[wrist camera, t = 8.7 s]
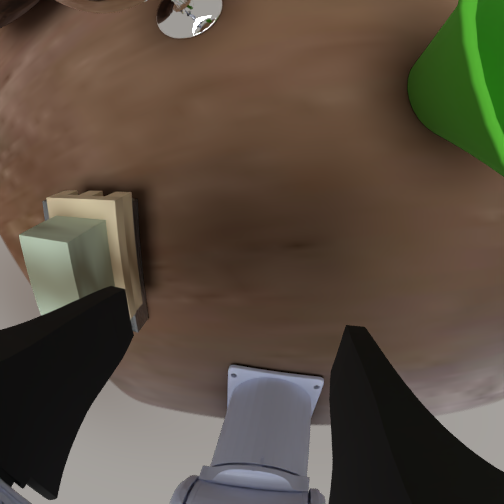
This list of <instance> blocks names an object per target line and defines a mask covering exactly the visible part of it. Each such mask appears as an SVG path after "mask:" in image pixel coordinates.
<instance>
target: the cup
mask: <svg viewBox="0 0 504 504" xmlns="http://www.w3.org/2000/svg"><path fill="white" fill-rule="evenodd" d="M407 90H408V95H409V100H410V103H411V106H412V108H413V110H414V112H415V114H416V115H417V117H418V119H419V120H420V121H421V122H422V123H423V124H424V125H425V127H427V128H428V129H429V130H431V131H432V132H433V133H435V134H437V135H439V136H440V137H442V138H444V139H446V140H448V141H449V142H451V143H453V144H454V145H456V146H458V147H460V148H461V149H463V150H464V151H466V152H468V153H469V154H471V155H473V156H474V157H476V158H477V159H479V160H480V161H482V162H483V163H485V164H486V165H488V166H489V167H491V168H492V169H494V170H495V171H496V172H498V173H499V174H501V175H502V176H503V177H504V0H459V1H458V6H457V7H456V8H455V10H454V11H453V13H452V14H451V15H450V17H449V18H448V19H447V21H446V22H445V24H444V25H443V26H442V28H441V29H440V30H439V32H438V33H437V34H436V36H435V37H434V38H433V40H432V41H431V43H430V44H429V45H428V47H427V48H426V49H425V51H424V52H423V53H422V55H421V56H420V57H419V59H418V60H417V61H416V63H415V64H414V66H413V67H412V69H411V70H410V74H409V77H408V87H407Z"/></svg>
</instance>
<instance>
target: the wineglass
mask: <svg viewBox="0 0 504 504" xmlns="http://www.w3.org/2000/svg"><path fill="white" fill-rule="evenodd" d="M54 1H56V2H58V3H60V4H62V5H65V6H68V7H71V8H73V9H76V10H79V11H84V12H91V13H115V12H120V11H123V10H127V9H130V8H132V7H135V6H137V5H140V4H142V3H144V2H145V1H147V0H54ZM222 7H223V0H162V2H161V3H160V5H159V7H158V10H157V14H156V21H157V25H158V27H159V29H160V30H161V31H162V32H163V33H164V34H165V35H167V36H169V37H171V38H176V39H188V38H192V37H195V36H198V35H200V34H202V33H204V32H205V31H207V30H208V29H209V28H210V27H212V26H213V25H214V24H215V22H216V21H217V20H218V18H219V16H220V14H221V12H222Z"/></svg>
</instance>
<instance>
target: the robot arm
mask: <svg viewBox="0 0 504 504" xmlns="http://www.w3.org/2000/svg"><path fill="white" fill-rule="evenodd" d="M133 336H134V334H133V330H132V324H131V319H130V314H129V308H128V303H127V297H126V291H125V289H123V288H118V287H114V286H109V287H106V288H103V289H101V290H98V291H96V292H93V293H91V294H89V295H87V296H84V297H82V298H80V299H78V300H76V301H73V302H71V303H69V304H67V305H65V306H63V307H60V308H58V309H56V310H53V311H51V312H49V313H46V314H44V315H42V316H39V317H37V318H35V319H32V320H30V321H27V322H24V323H21V324H18V325H16V326H12V327H9V328H6V329H2V330H0V504H31V503H30V502H29V501H28V500H26V499H25V498H23V497H22V496H21V495H20V494H19V493H17V492H16V491H15V490H13V489H12V488H11V486H12V485H13V483H14V482H15V483H16V484H18V485H19V486H20V487H21V488H24V487H25V485H26V484H27V485H28V486H29V487H31V488H32V489H34V490H35V491H36V492H38V493H39V494H41V495H42V496H43V497H45V498H46V499H48V500H53V499H56V498H57V496H58V491H59V486H60V482H61V478H62V474H63V470H64V467H65V464H66V461H67V458H68V455H69V452H70V449H71V447H72V444H73V442H74V440H75V437H76V435H77V432H78V430H79V428H80V426H81V424H82V422H83V420H84V417H85V415H86V413H87V411H88V410H89V408H90V406H91V405H92V403H93V401H94V400H95V398H96V397H97V395H98V394H99V393H100V391H101V390H102V388H103V387H104V385H105V384H106V382H107V381H108V379H109V378H110V376H111V375H112V373H113V372H114V370H115V369H116V367H117V366H118V365H119V363H120V361H121V360H122V358H123V356H124V355H125V353H126V351H127V349H128V347H129V345H130V342H131V340H132V338H133ZM323 384H324V379H323V378H322V377H317V376H308V375H299V374H291V373H284V372H276V371H269V370H263V369H256V368H250V367H244V366H239V365H230V366H229V369H228V394H227V413H226V416H225V420H224V423H223V426H222V430H221V433H220V436H219V439H218V443H217V446H216V450H215V453H214V456H213V459H212V463H211V466H203V467H202V470H201V473H200V476H197V475H192V476H190V477H188V478H187V479H186V480H184V481H183V482H181V483H180V484H179V485H178V487H177V488H176V490H175V491H174V494H173V496H172V498H171V501H170V504H325V497H324V496H323V495H322V494H321V493H320V492H319V490H318V489H310V490H309V492H308V489H309V477H307V466H308V454H309V439H310V422H311V416H312V414H313V411H314V409H315V406H316V403H317V401H318V398H319V395H320V393H321V390H322V387H323ZM316 385H318V386H316ZM329 400H330V417H331V432H332V433H331V434H332V451H333V452H332V454H333V470H332V480H331V490H330V498H329V504H504V472H503V471H501V470H499V469H497V468H496V467H494V466H493V465H491V464H490V463H488V462H487V461H485V460H484V459H482V458H481V457H480V456H478V455H477V454H475V453H474V452H473V451H472V450H470V449H469V448H468V447H466V446H465V445H464V444H463V443H462V442H460V441H459V440H458V439H457V438H456V437H455V436H453V434H451V433H450V432H449V431H448V430H447V429H446V428H445V427H444V426H443V425H442V424H441V423H440V422H439V421H438V420H437V419H436V418H435V417H434V416H433V415H432V414H431V413H430V412H429V411H428V410H427V409H426V408H425V406H424V405H423V404H422V403H421V402H420V401H419V400H418V398H417V397H416V396H415V395H414V394H413V392H412V391H411V390H410V389H409V387H408V386H407V385H406V384H405V382H404V381H403V380H402V378H401V377H400V376H399V375H398V373H397V372H396V371H395V369H394V368H393V366H392V365H391V364H390V362H389V361H388V359H387V358H386V357H385V355H384V354H383V352H382V351H381V349H380V348H379V346H378V345H377V344H376V342H375V341H374V339H373V338H372V336H371V335H370V333H369V332H368V331H367V329H366V328H365V327H360V326H350V325H346V327H345V330H344V333H343V337H342V340H341V343H340V346H339V349H338V352H337V355H336V358H335V361H334V364H333V367H332V370H331V378H330V398H329Z"/></svg>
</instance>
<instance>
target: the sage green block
mask: <svg viewBox="0 0 504 504" xmlns="http://www.w3.org/2000/svg"><path fill="white" fill-rule="evenodd" d="M47 206H48V213H49V219H48V220H46V221H44V222H42V223H40V224H38V225H36V226H35V227H33V228H31V229H29V230H27V231H25V232H23V233H21V234H20V235H19V238H20V242H21V247H22V251H23V256H24V260H25V264H26V268H27V271H28V275H29V279H30V282H31V286H32V289H33V292H34V295H35V299H36V302H37V305H38V308H39V311H40V314H41V316H42V315H44V314H46V313H49V312H51V311H53V310H56V309H58V308H60V307H63V306H65V305H67V304H69V303H71V302H73V301H76V300H78V299H80V298H82V297H84V296H87V295H89V294H91V293H93V292H96V291H98V290H101V289H103V288H106V287H109V286H114V287H118V288H123V289H125V291H126V297H127V303H128V308H129V314H130V319H132V317H133V316H134V315H135V314H136V311H137V310H138V308H139V307H140V306H141V305H142V304H143V301H142V295H141V288H140V280H139V273H138V264H137V255H136V246H135V235H134V224H133V210H132V193H131V192H117V191H116V192H113V193H111V194H109V195H107V196H103V191H87V192H85V193H82V194H80V195H78V190H65V191H63V192H60V193H58V194H55V195H52V196H49V197H47Z"/></svg>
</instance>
